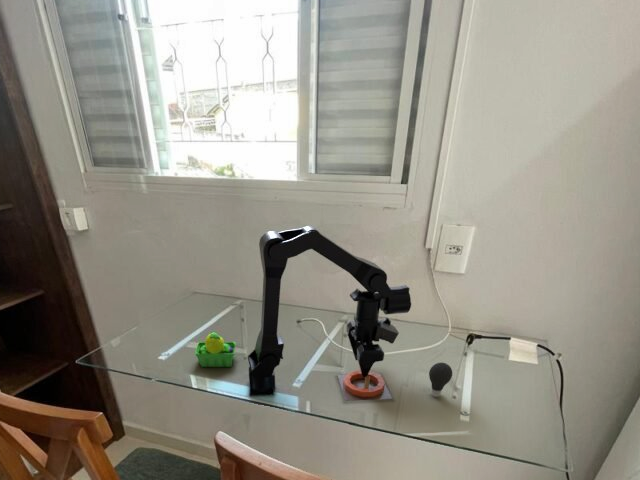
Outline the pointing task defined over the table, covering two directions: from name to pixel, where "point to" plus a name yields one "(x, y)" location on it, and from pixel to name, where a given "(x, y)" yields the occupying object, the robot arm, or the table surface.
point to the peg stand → (363, 384)
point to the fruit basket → (215, 352)
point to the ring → (360, 391)
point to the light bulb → (439, 377)
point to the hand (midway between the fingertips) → (360, 368)
